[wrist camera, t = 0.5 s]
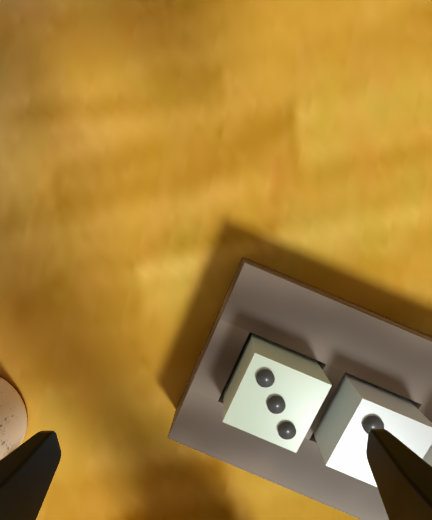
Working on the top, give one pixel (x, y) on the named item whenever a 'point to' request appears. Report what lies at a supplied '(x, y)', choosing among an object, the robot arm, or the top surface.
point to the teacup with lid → (11, 419)
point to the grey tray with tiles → (311, 345)
